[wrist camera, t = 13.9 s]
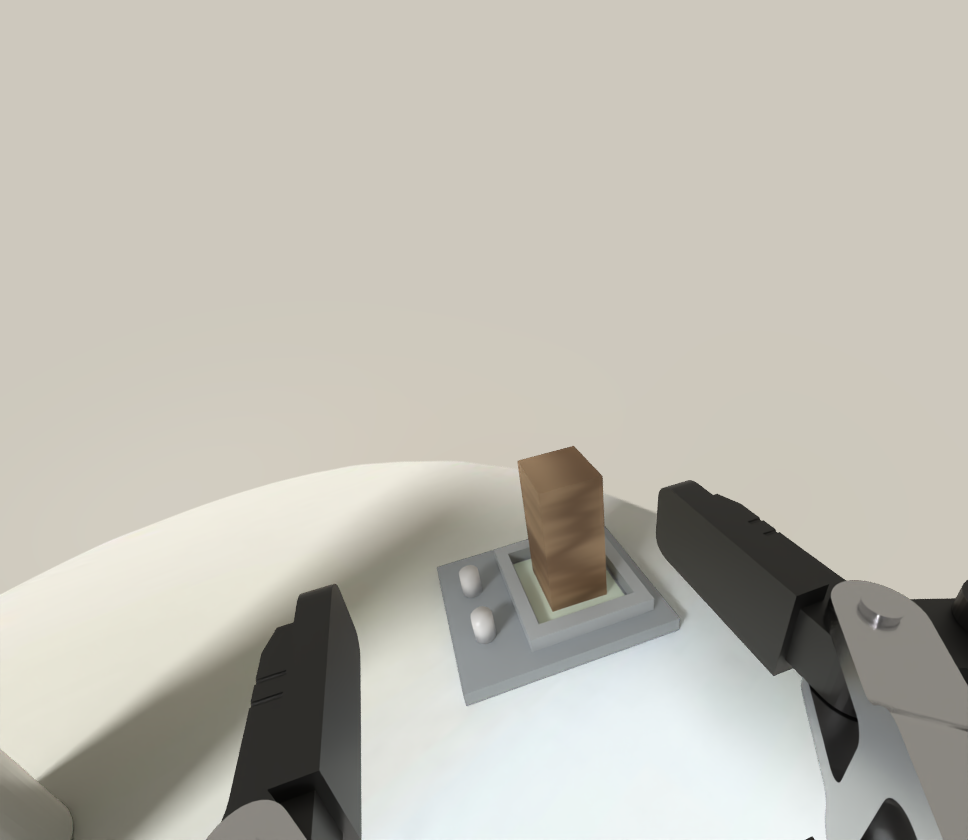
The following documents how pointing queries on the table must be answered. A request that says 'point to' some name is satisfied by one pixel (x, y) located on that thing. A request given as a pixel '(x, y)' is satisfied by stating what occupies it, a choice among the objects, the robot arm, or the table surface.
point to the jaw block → (565, 526)
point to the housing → (541, 619)
